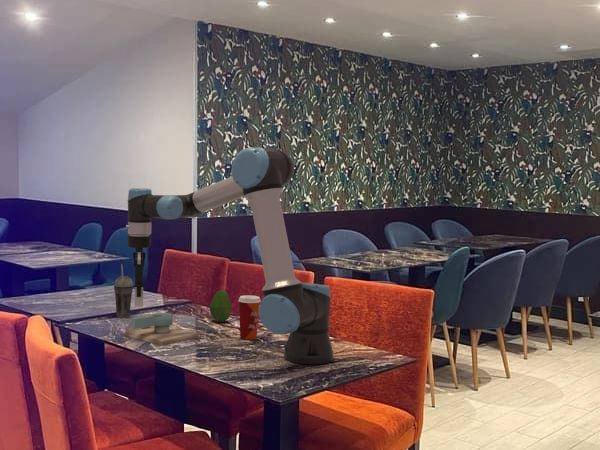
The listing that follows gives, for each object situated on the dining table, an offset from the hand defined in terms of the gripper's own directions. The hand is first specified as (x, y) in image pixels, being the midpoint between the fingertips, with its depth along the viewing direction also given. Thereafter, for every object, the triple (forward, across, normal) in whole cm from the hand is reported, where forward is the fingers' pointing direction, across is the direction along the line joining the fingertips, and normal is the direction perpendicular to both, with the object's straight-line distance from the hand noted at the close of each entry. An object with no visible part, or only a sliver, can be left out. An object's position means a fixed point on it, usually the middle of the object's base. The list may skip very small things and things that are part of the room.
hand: (138, 306), depth 228 cm
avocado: (+11, -23, +29) cm, 39 cm away
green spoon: (+6, +2, +4) cm, 8 cm away
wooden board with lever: (+10, 0, +8) cm, 13 cm away
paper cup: (+11, +3, +36) cm, 38 cm away
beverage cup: (+10, -32, -6) cm, 34 cm away
